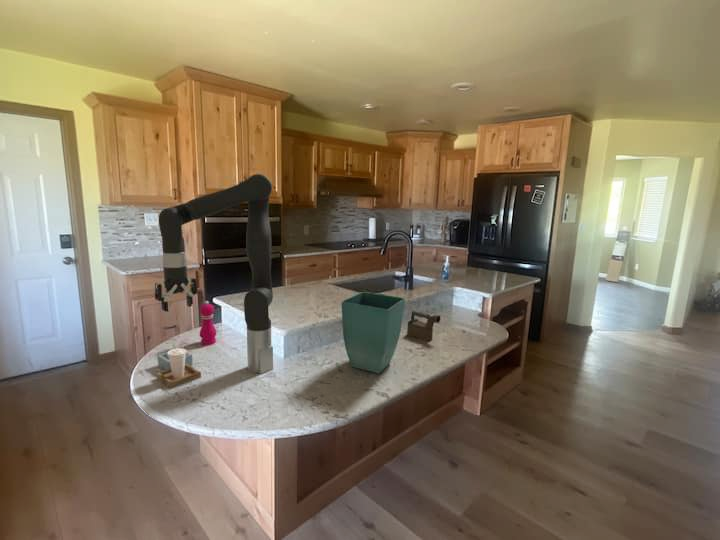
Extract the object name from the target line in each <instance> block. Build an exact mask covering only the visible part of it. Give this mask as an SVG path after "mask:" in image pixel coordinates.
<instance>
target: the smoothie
mask: <svg viewBox="0 0 720 540" xmlns="http://www.w3.org/2000/svg"><path fill="white" fill-rule="evenodd" d="M175 343H176V348H173V349H169V350H168V351H167V352H166V353H167V356H168V357H169V361H170V366H171V370H172V375H173V378H181V377H183V376H184V368H185V356H186V353H187V352H188V351H187V349H186V348H183V347H182V348H180V347H179V340H176V341H175Z"/></svg>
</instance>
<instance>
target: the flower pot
mask: <svg viewBox="0 0 720 540" xmlns="http://www.w3.org/2000/svg"><path fill="white" fill-rule="evenodd" d="M405 302H406V298H405V297H400V296H394V295H387V294H380V293H377V292H376V293H374V292H368V291H361V292H358V293H357V294H355V295H352V296H350V297H347V298H346V299H344V300H342V301H341V320H342V336H343V342H344V347H345V351H346V354H347V358H348V360H349V362H350V365H351V367H353V368H356V369H360V370H364V371H367V372H370V373H371V372H372V373H375V374H380V373H381V372H382V371H383V370H384V369H386V367H387V366H388V365H389V364H390V363H391V361H392V358H393V356H394V353H395V352H396V349H397V346H398V342H399V339H400V336H401V335H400V333H401V330H402V324H403V323H402V322H403V316H404V307H405Z"/></svg>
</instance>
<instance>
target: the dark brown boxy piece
mask: <svg viewBox="0 0 720 540" xmlns="http://www.w3.org/2000/svg"><path fill="white" fill-rule="evenodd" d="M415 316H416V317H419V318H425V319H426V320H427V321H426V322H425V321H422V320H419V319H418V318H415ZM440 322H441V315H440V314H439V315H430V314H429V313H423V312H419V311H415V310H412V311H411V319H410V320H409V321H407V328H406V329H407V330H406V331H407V332H406V335H407V336H409V337H412V338H416V339H418V340H419V339H420V340H423V341H424V340H425V341H432V340H433V332H434V329H433V327H434V324H435V323H436V324H438V323H440Z"/></svg>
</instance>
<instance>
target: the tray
mask: <svg viewBox="0 0 720 540" xmlns="http://www.w3.org/2000/svg"><path fill="white" fill-rule="evenodd" d="M201 378H202V373H201V371H200V370H198V369H196V368H195V367H193V366H189V365H188V364H185V368H184V376H183V377H181V378H173V375H172V370H171V369H168V370H162V371H159V372H156V379H157V380H159V381H160V382H161V383H163V384H164V385H165V386H167V387H168V388H170V389H174V388H178V387H180V386H183V385H184V384H188V383H191V382H193V381H197V380H199V379H201Z"/></svg>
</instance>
